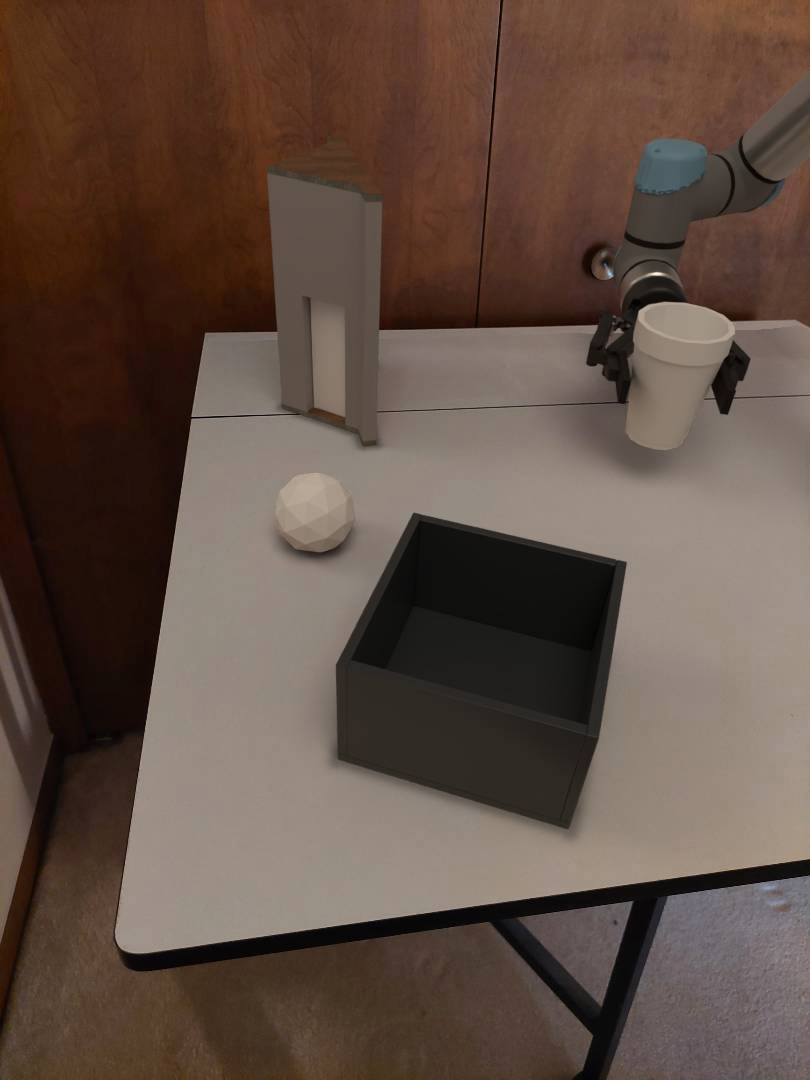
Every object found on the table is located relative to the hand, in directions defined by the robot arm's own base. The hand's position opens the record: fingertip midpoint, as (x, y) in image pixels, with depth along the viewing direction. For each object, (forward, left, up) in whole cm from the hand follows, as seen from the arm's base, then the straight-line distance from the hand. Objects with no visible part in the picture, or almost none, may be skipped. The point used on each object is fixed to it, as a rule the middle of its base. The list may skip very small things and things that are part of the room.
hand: (676, 397), depth 80 cm
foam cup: (+1, -4, -7) cm, 8 cm away
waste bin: (+11, +34, -12) cm, 37 cm away
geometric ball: (+31, +20, -13) cm, 39 cm away
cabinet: (+41, -5, -13) cm, 43 cm away
